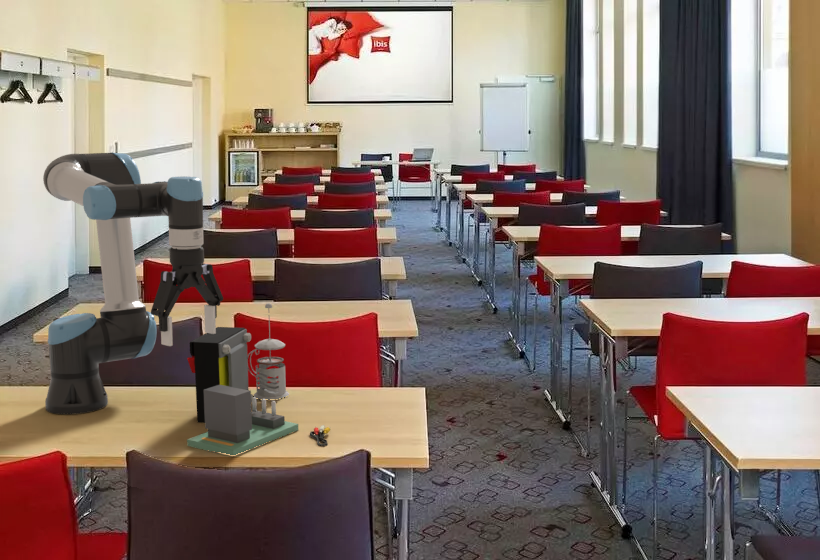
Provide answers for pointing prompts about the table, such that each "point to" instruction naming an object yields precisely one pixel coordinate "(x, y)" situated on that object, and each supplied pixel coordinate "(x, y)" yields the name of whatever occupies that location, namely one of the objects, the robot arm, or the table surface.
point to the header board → (245, 445)
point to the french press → (270, 370)
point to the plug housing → (227, 409)
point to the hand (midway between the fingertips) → (189, 339)
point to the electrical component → (219, 362)
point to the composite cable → (320, 434)
